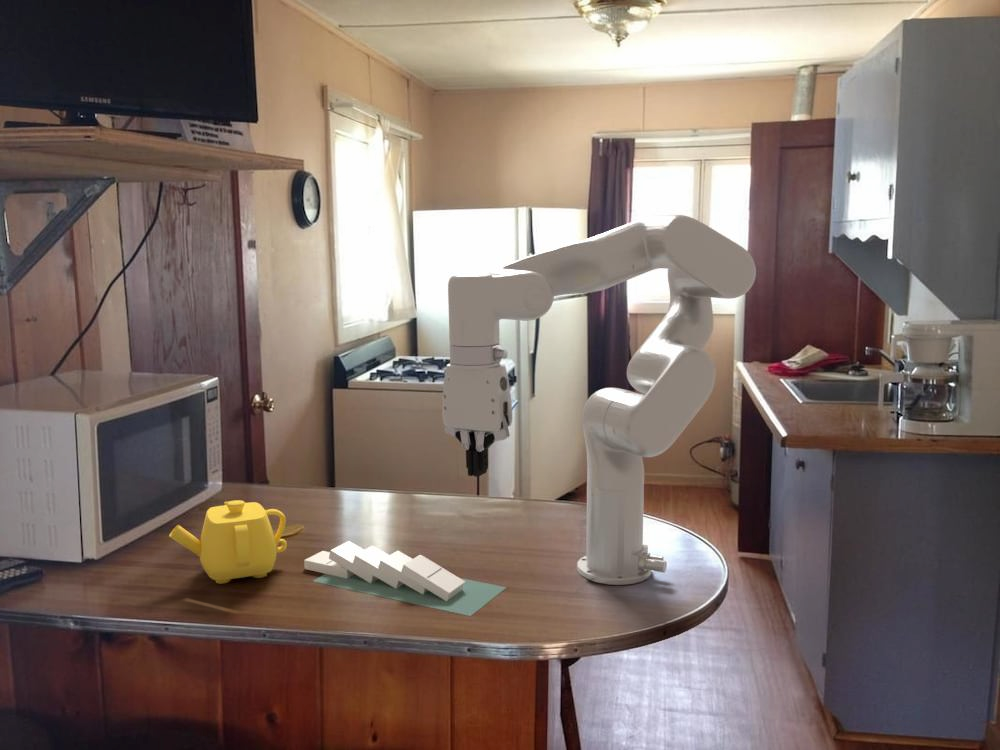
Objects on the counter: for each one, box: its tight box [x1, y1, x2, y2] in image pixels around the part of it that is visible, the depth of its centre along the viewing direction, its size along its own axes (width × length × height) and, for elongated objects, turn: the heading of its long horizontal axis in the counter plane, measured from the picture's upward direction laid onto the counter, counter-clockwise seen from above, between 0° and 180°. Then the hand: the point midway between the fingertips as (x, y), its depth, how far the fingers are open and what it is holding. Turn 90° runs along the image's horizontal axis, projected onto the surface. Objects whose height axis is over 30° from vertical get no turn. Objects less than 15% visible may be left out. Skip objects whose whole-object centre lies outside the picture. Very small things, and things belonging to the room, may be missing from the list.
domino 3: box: [353, 545, 404, 589], centre depth 142 cm, size 2×5×9 cm
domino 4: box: [378, 550, 429, 594], centre depth 140 cm, size 2×5×9 cm
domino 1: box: [303, 550, 354, 578], centre depth 147 cm, size 2×5×9 cm
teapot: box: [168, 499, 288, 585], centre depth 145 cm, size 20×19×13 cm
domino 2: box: [329, 540, 379, 583], centre depth 144 cm, size 2×5×9 cm
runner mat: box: [312, 573, 507, 617], centre depth 140 cm, size 30×12×1 cm, turn 63°
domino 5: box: [401, 554, 465, 601], centre depth 137 cm, size 2×5×9 cm
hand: (477, 473), depth 131 cm, fingers closed
